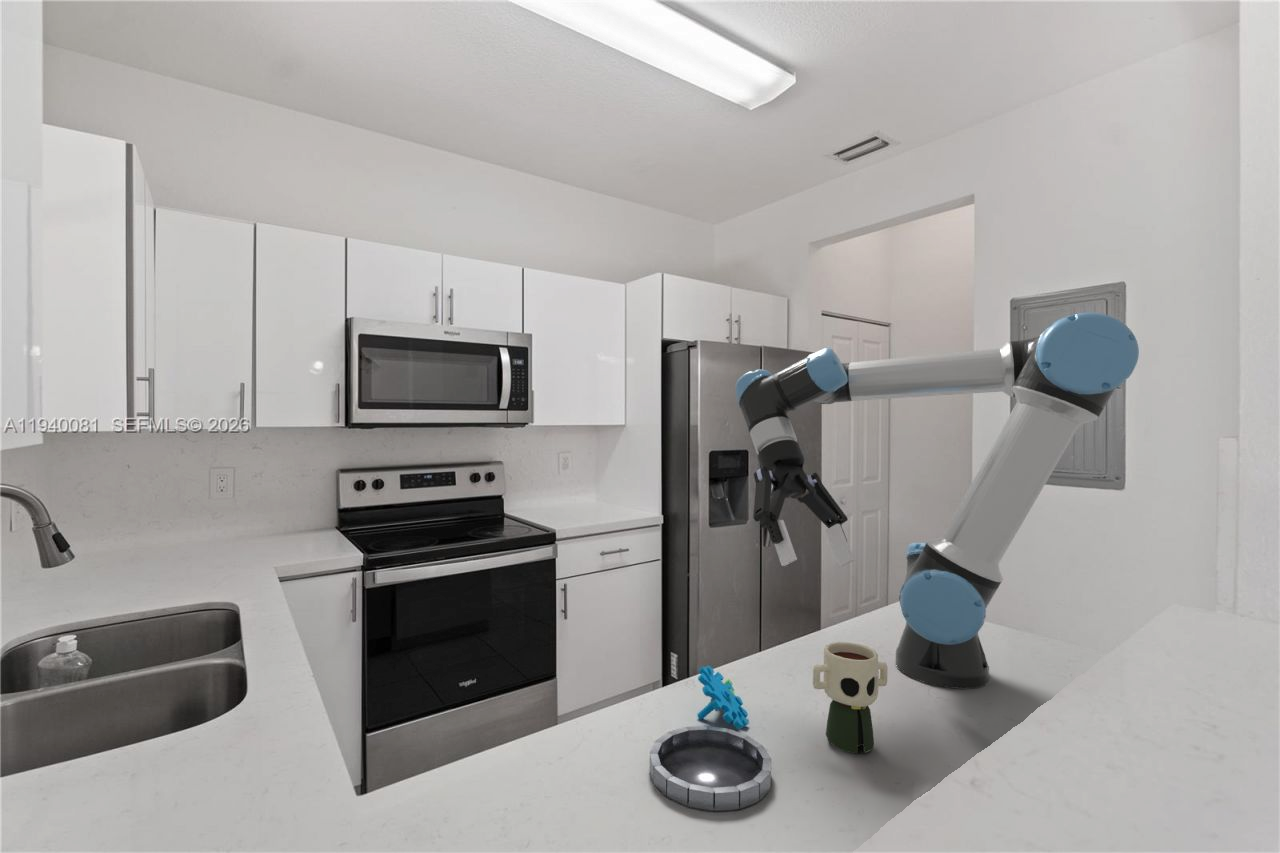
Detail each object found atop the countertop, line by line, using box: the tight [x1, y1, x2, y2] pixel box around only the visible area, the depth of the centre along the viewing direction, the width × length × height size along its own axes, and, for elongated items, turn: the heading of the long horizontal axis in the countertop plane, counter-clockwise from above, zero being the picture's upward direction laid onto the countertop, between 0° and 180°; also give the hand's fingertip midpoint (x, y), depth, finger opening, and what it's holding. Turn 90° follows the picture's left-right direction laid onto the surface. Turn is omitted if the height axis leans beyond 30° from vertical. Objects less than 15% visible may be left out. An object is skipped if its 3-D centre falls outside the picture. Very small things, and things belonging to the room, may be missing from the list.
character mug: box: [812, 641, 889, 754], centre depth 82 cm, size 11×7×13 cm, turn 98°
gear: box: [697, 665, 749, 730], centre depth 89 cm, size 11×6×10 cm
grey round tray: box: [648, 725, 773, 813], centre depth 75 cm, size 15×15×2 cm
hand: (819, 563), depth 94 cm, fingers open, 13 cm apart
